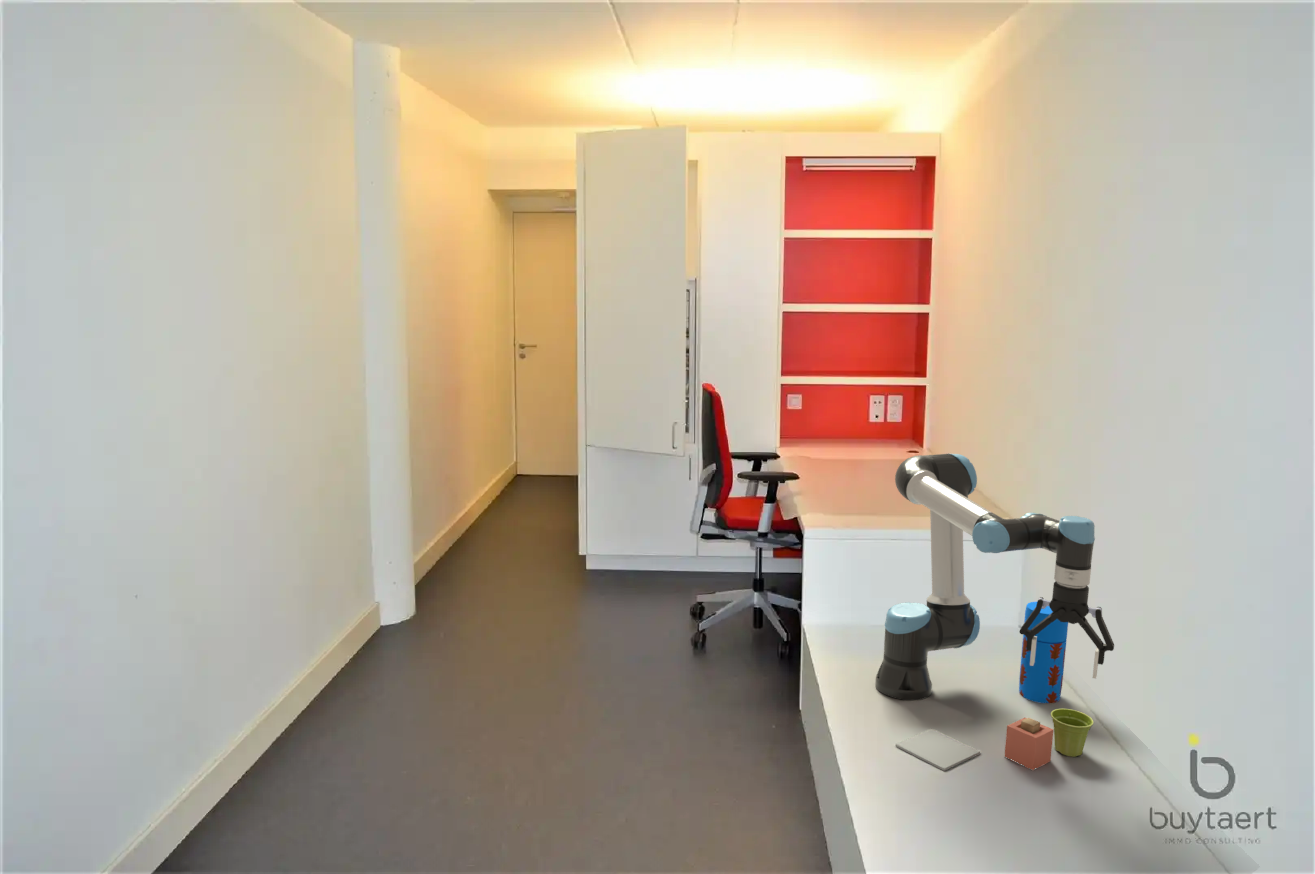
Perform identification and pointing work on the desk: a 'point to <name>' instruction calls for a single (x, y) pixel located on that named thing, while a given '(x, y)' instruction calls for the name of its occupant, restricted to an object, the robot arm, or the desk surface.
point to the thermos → (1043, 660)
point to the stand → (1030, 725)
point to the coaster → (938, 749)
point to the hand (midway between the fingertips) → (1062, 670)
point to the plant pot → (1070, 731)
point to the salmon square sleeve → (1028, 745)
